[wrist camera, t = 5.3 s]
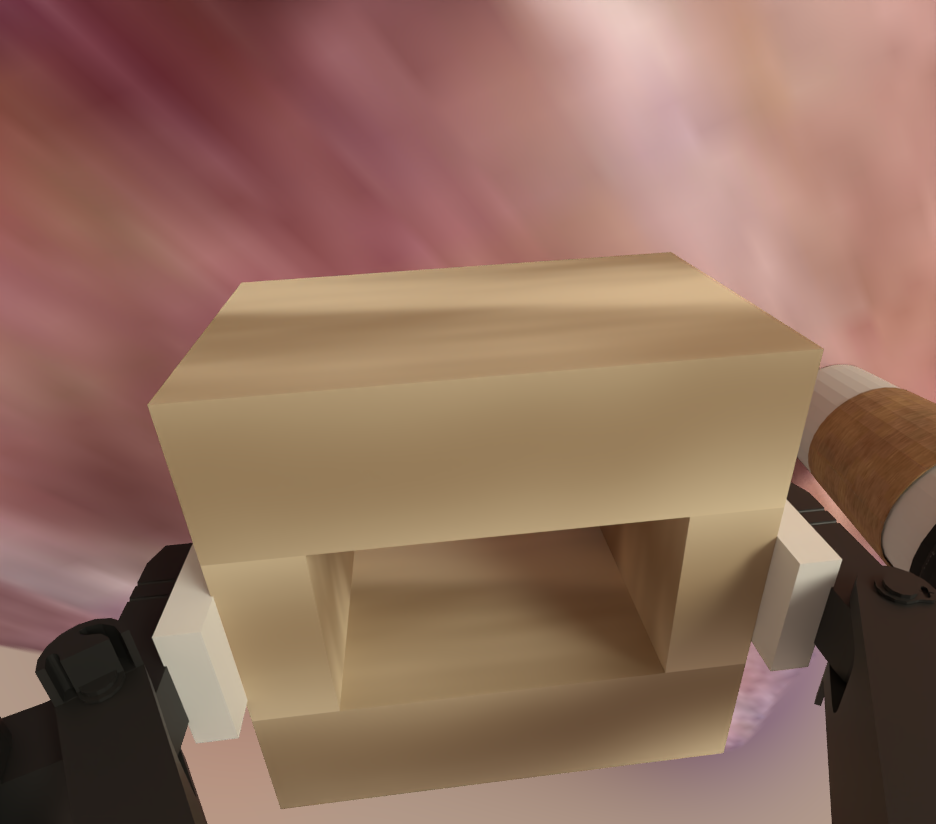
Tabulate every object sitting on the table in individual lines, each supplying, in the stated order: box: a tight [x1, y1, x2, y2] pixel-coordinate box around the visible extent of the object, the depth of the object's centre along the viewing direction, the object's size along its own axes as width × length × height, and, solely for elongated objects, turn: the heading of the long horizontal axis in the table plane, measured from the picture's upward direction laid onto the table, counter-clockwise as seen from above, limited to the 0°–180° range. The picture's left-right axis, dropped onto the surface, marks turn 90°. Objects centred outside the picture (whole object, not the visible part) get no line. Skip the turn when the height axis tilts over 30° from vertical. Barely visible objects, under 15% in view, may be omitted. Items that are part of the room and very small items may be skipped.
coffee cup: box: [797, 365, 936, 589], centre depth 30 cm, size 8×8×15 cm
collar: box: [148, 252, 824, 809], centre depth 14 cm, size 10×10×6 cm
